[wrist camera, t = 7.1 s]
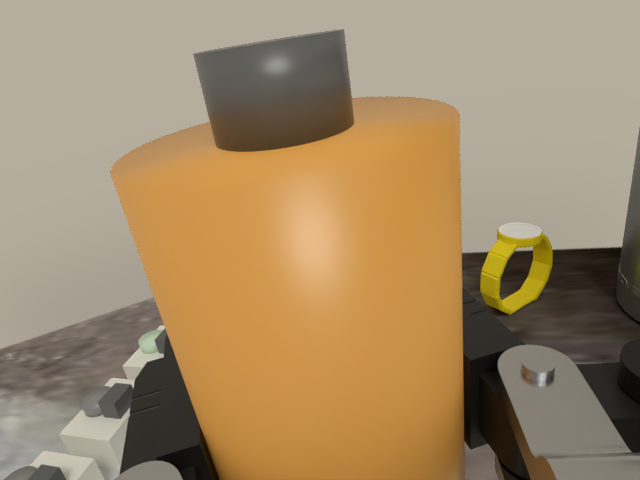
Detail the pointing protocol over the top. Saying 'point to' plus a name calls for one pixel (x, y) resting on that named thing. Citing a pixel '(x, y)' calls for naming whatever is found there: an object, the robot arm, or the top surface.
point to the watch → (497, 259)
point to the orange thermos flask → (309, 267)
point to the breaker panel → (97, 426)
